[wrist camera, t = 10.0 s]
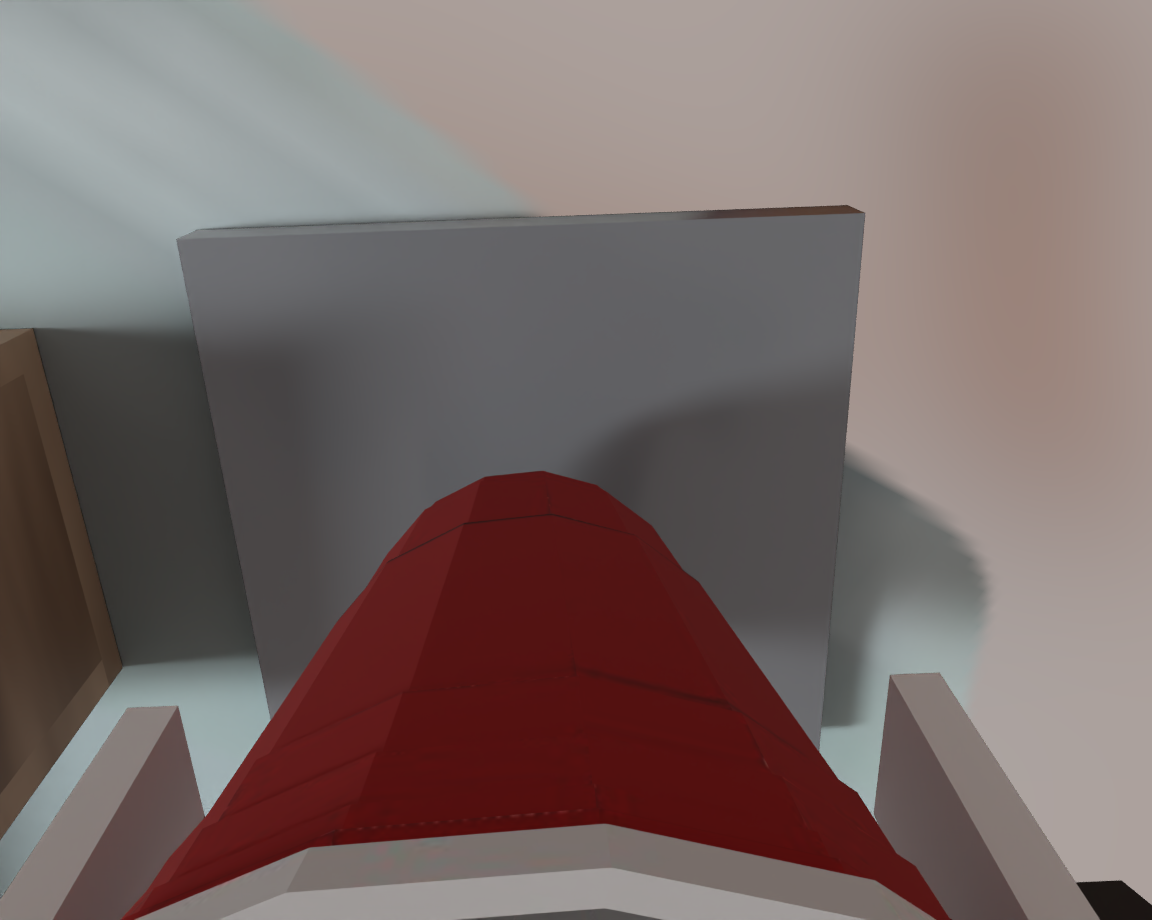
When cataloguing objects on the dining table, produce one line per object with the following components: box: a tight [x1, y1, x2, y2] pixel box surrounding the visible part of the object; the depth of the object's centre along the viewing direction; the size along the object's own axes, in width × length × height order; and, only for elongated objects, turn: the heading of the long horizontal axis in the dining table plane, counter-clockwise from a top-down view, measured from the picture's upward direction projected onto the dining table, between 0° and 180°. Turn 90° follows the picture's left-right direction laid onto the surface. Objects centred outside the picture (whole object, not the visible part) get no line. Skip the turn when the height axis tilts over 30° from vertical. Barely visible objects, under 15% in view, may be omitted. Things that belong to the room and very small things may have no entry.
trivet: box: [176, 205, 865, 751], centre depth 22 cm, size 14×14×1 cm
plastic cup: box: [121, 471, 952, 920], centre depth 14 cm, size 11×11×12 cm
